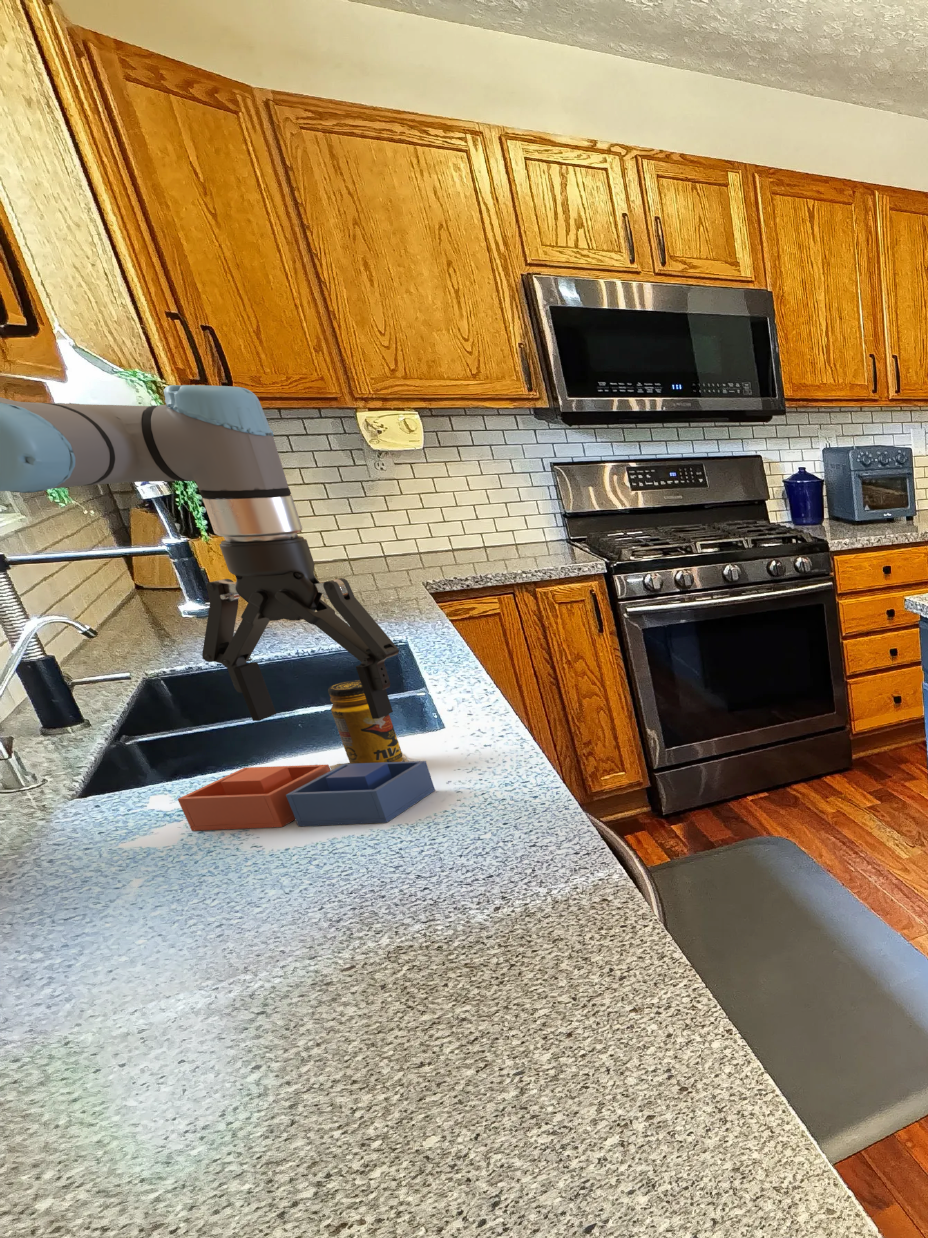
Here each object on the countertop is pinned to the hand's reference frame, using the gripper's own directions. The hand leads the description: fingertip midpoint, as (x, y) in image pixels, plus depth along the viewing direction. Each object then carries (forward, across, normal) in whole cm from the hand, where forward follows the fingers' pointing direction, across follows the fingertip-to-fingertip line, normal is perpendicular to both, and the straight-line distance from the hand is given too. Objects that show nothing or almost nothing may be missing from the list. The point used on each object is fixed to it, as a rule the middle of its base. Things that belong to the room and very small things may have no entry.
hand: (324, 716), depth 105 cm
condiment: (+12, +6, -14) cm, 19 cm away
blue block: (+11, -3, +1) cm, 11 cm away
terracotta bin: (+12, +9, +1) cm, 15 cm away
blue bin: (+12, -3, +1) cm, 12 cm away
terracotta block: (+11, +9, +1) cm, 15 cm away
